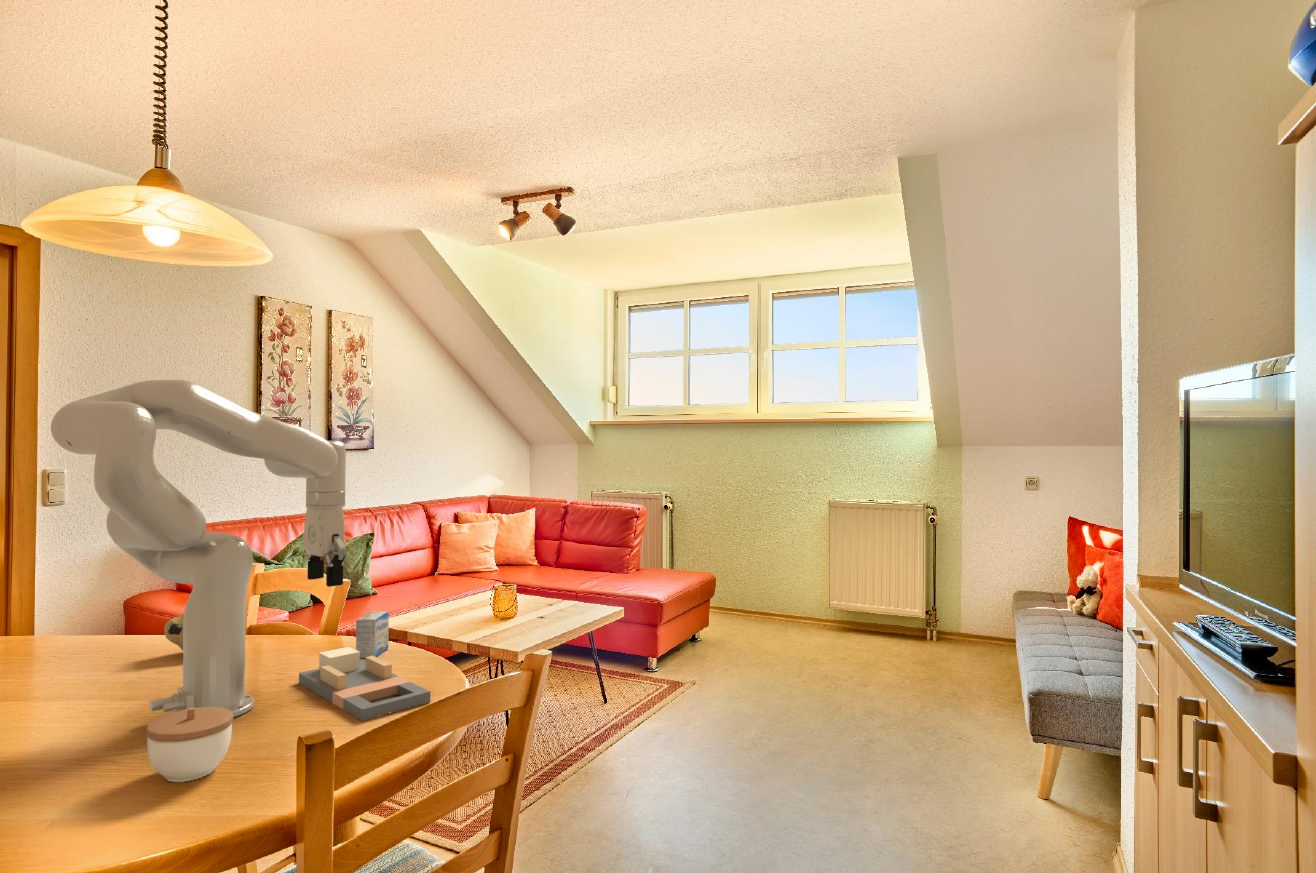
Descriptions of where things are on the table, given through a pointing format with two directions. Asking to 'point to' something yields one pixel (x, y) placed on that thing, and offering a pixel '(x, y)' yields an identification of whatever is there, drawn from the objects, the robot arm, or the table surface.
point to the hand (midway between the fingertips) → (324, 581)
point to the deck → (365, 688)
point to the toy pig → (175, 630)
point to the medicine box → (372, 634)
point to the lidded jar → (189, 742)
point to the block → (340, 659)
